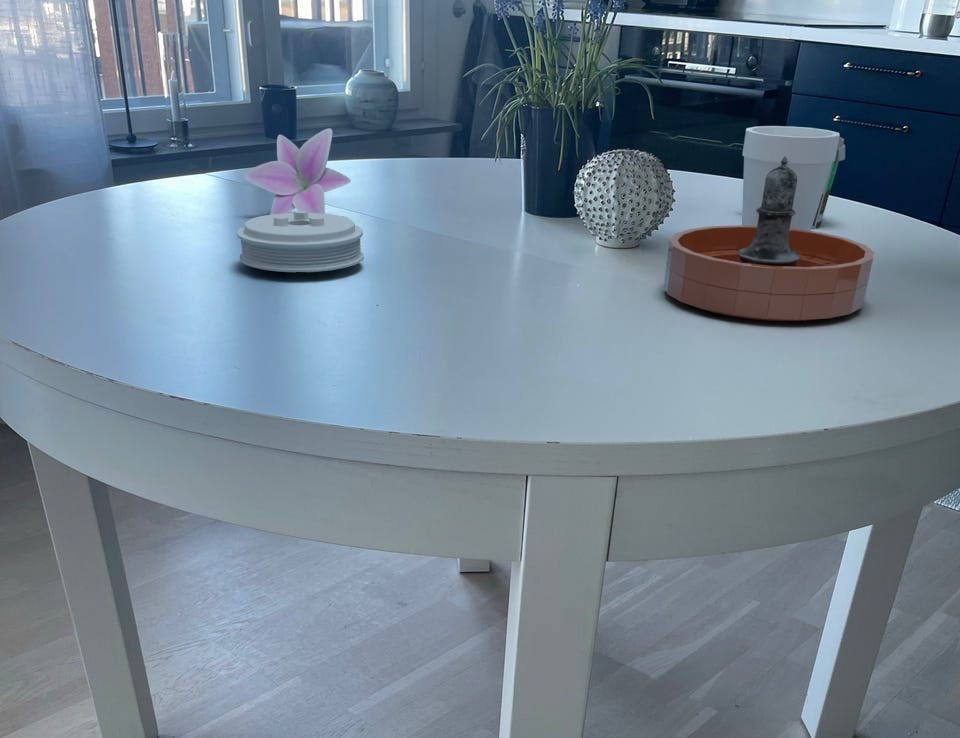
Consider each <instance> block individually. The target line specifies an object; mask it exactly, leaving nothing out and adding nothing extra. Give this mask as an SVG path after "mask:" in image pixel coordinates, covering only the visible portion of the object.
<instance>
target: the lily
mask: <svg viewBox="0 0 960 738" xmlns="http://www.w3.org/2000/svg"><path fill="white" fill-rule="evenodd" d="M332 139H333V129H332V128H331V127H330V128H325V129H323V130H321V131H319V132H318V133H316V134H315V135H313V136H312V137H310V138H309V139H307V140H306V141H305V142H304V143H303V144H302V145H301V146H300V148H298V146H297V145H296V144H295V143H293V141H291V140H290V139H289V138H287V137H286V136H284V135H283V134H278V135H277V138H276V157H277V160H273V161H268V162H264V163H261V164H259V165H257V166H255V167H252V168H250V169H249V170H247V171H245V172H244V174H243V175H242V176H243V178H244V179H245V180H246V181H247V182H249V183H251V184H253V185H254V186H257V187H259V188H261V189H263V190H265V191H267V192H268V193H269V192H270V193H272V194H274V196H273V197H274V198H273V200H272V205H271V209H270V215H272V214H282V213H292V211H294V209H296V211H307V212H308V213H321V214H326V206H325V205H326V204H325V203H326V202H325V201H326V199H325V193H327V192H331V191H333V190H336V189H338V188H339V189H340V188H342V187H344V186H346V185H349V184H351V182H352V180H351V179H350V178H349V177H348V176H347V175H345V174H343V173H342V172H340V171H337V170H335V169H333V168H330V167H327V164H328V161H329V156H330V155H329V154H330V150H331V145H332V141H333V140H332Z"/></svg>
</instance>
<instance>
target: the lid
mask: <svg viewBox="0 0 960 738" xmlns="http://www.w3.org/2000/svg"><path fill="white" fill-rule="evenodd" d="M236 234H237V235H236V236H237V238H238V239H240V245H241V253H240V255H239V261H240V262H241V263H242V264H244V265H245V266H248V267H251V268H255V269H257V270H258V269H259V270H264V271H269V272H271V271H272V272H282V273H283V272H284V273H296V272H307V273H316V272H326V271H335V270H340V269H341V270H342V269H345V268H348V267H353V266H355V265H358V264H359V263H361V262H363V260H364V259H365V254H364V252H363V251H362V248H361V247H362V245H361V238H362V237H363V235H364V231H363V228H361V226H359V225H356V223H355V221H354V220H353V219H351V218H348V217H345V216H342V215H337V214H330V213H325V214H321V213H308V212H307V211H298V210H296V211H293V212H289V213H282V214H272V215H271V214H266V215H261V216H255V217H253V218H250V219H248V220H246V221H245V222H244V224H243V226H242V227H240V228H239V229H237V231H236Z"/></svg>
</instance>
